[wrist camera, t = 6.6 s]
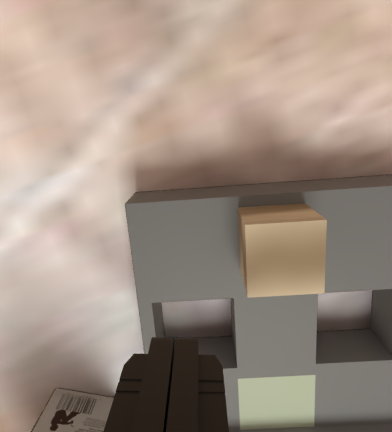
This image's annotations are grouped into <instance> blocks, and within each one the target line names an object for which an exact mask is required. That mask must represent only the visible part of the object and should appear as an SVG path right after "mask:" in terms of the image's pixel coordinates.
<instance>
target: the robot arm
mask: <svg viewBox="0 0 392 432" xmlns="http://www.w3.org/2000/svg"><path fill="white" fill-rule="evenodd" d="M103 432H229V427H228V417H227V406H226V396H225V385H224V375H223V366H222V365H221V363H220V362H219V360H218V359H217V357H216V356H215V355H198V338H184V337H176V343H175V338H174V337H152V338H151V342H150V347H149V351H148V354H133V356H132V357H131V358H130V359H129V360H128V361H127V362H126V363H125V365H124V367H123V370H122V373H121V376H120V381H119V383H118V386H117V389H116V394H115V396H114V399H113V402H112V405H111V409H110V412H109V415H108V418H107V422H106V425H105V428H104V431H103Z"/></svg>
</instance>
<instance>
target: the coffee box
mask: <svg viewBox="0 0 392 432" xmlns="http://www.w3.org/2000/svg"><path fill="white" fill-rule="evenodd" d="M113 399H114V398H113V397H106V396H100V395H95V394H89V393H83V392H77V391H71V390H65V389H59V388H56V389H55V390H54V392H53V393H52V395H51V397H50V399H49V401H48V402H47V404H46V406H45V408H44V410H43V411H42V413H41V415H40V417H39V418H38V420H37V422H36V424H35V425H34V427H33V429H32V431H31V432H103V431H104V428H105V425H106V422H107V418H108V415H109V412H110V409H111V405H112V402H113Z"/></svg>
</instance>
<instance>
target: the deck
mask: <svg viewBox="0 0 392 432" xmlns="http://www.w3.org/2000/svg"><path fill="white" fill-rule="evenodd" d="M301 203H306V204H307V205H308V206H309V207H311V208H312V209H313V210H315V211H316V212H317V213H319V214H320V215H321V216H323V217H324V218H325V219H326V220H327V230H326V261H325V291H324V293H331V292H348V291H366V290H373V295H372V308H371V322H370V329H358V330H340V331H321V332H317V296H318V294H304V295H287V296H269V297H251V298H247V294H246V290H245V286H244V283H243V279H242V275H241V271H240V258H239V232H238V208H240V207H255V206H270V205H286V204H301ZM125 209H126V217H127V224H128V232H129V239H130V247H131V254H132V262H133V270H134V277H135V285H136V292H137V300H138V307H139V315H140V322H141V330H142V337H143V345H144V353H145V354H148V351H149V347H150V342H151V338H152V337H165V333H164V324H163V316H162V307H161V302H176V301H193V300H210V299H228V298H231V315H232V335H233V336H229V337H210V338H198V355H215V356H216V357H217V359H218V360H219V362H220V363H221V365H222V366H223V375H224V385H225V396H226V406H227V417H228V427H229V432H392V175H379V176H364V177H350V178H335V179H321V180H306V181H292V182H278V183H263V184H249V185H234V186H220V187H205V188H191V189H177V190H162V191H148V192H136V193H135V194H134V195H133V196H132V197H131V198H130V199H129V200H128V201H127V202H126V203H125ZM175 343H176V339H175Z"/></svg>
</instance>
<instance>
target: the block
mask: <svg viewBox="0 0 392 432" xmlns="http://www.w3.org/2000/svg"><path fill="white" fill-rule="evenodd" d="M326 230H327V220H326V219H325V218H324V217H323V216H321V215H320V214H319V213H317V212H316V211H315V210H313V209H312V208H311V207H309V206H308V205H307V204H306V203H301V204H286V205H270V206H255V207H240V208H238V232H239V258H240V271H241V275H242V279H243V283H244V286H245V290H246V294H247V298H251V297H269V296H287V295H304V294H322V293H324V291H325V261H326Z"/></svg>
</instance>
